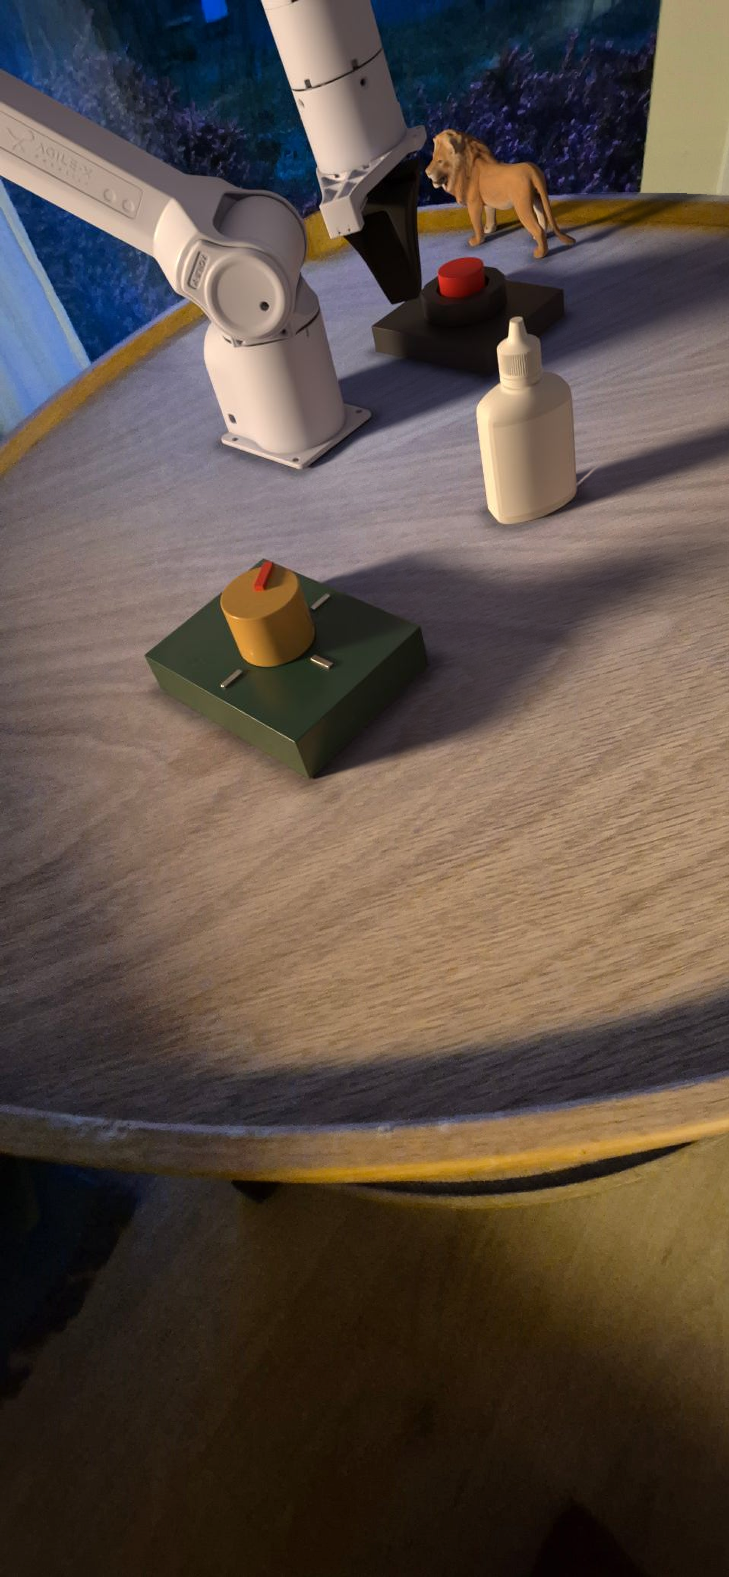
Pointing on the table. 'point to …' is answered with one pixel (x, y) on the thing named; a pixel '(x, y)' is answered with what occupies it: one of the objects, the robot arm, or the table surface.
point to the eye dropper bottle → (526, 434)
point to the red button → (461, 277)
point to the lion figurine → (492, 187)
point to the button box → (466, 323)
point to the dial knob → (268, 615)
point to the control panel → (294, 676)
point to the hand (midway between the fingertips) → (406, 297)
